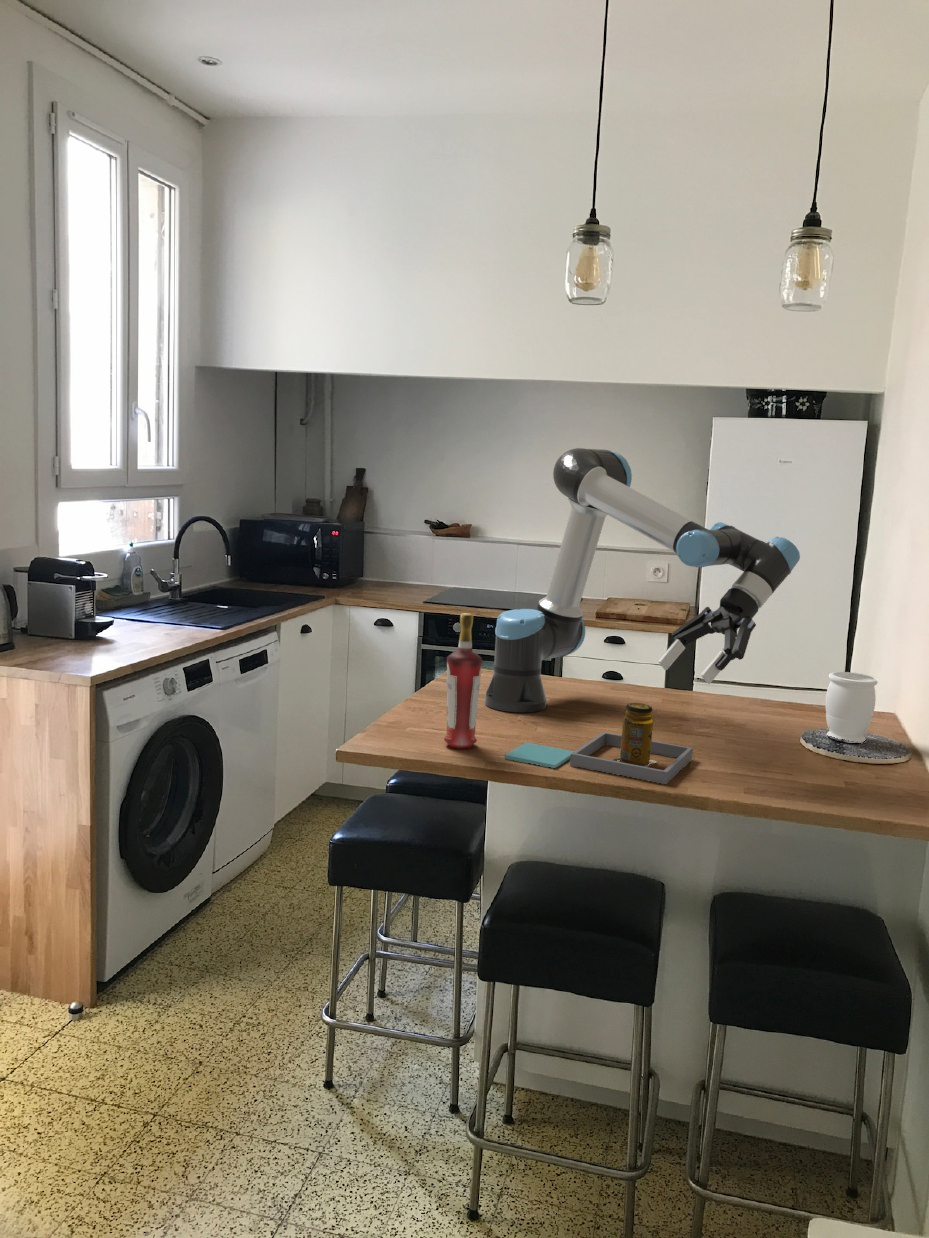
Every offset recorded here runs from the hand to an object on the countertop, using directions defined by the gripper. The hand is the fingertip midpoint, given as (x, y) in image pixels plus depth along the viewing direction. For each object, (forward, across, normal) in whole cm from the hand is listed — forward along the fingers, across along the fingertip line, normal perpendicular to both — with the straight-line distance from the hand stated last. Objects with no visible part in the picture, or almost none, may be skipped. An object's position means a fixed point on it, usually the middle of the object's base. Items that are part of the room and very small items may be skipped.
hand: (682, 672), depth 199 cm
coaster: (+32, +10, +6) cm, 34 cm away
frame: (+21, +1, -5) cm, 21 cm away
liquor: (+41, +22, +15) cm, 49 cm away
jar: (-21, 0, -48) cm, 53 cm away
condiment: (+21, +1, -6) cm, 22 cm away
